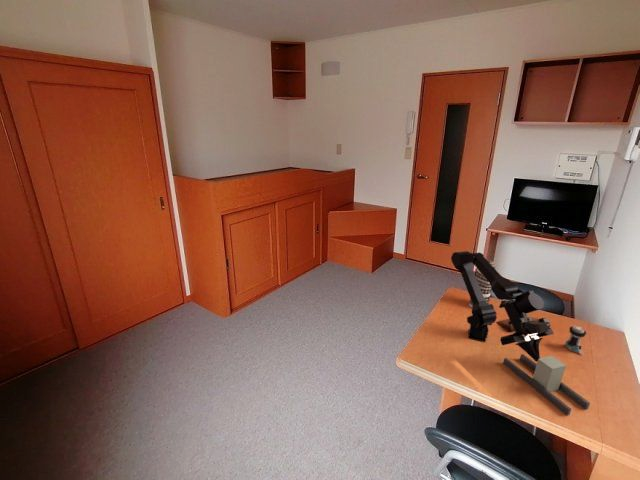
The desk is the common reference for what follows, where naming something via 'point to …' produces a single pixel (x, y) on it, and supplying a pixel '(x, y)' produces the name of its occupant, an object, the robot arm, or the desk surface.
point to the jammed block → (549, 373)
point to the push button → (575, 339)
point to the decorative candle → (484, 283)
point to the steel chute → (545, 392)
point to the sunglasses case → (509, 327)
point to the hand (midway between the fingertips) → (538, 361)
